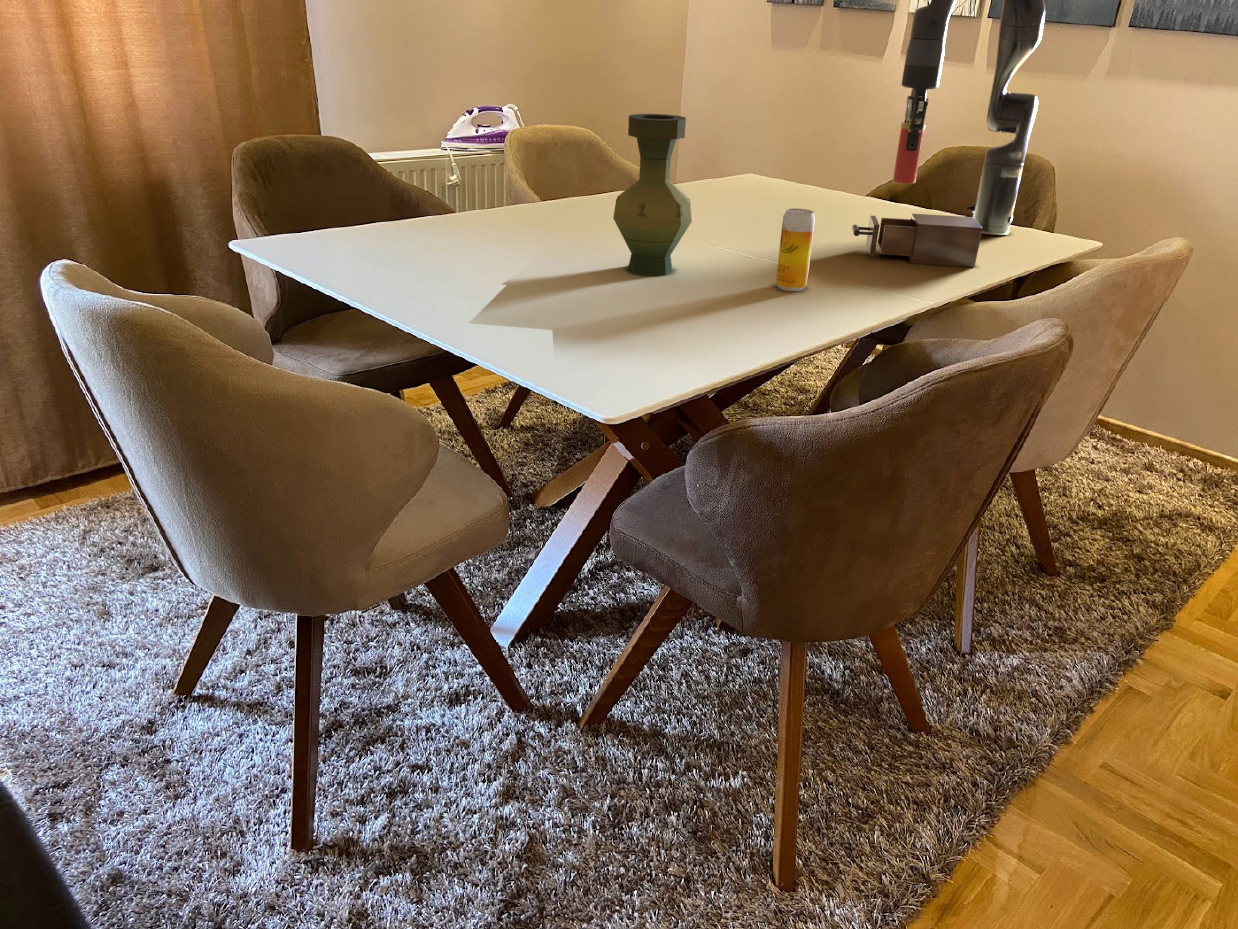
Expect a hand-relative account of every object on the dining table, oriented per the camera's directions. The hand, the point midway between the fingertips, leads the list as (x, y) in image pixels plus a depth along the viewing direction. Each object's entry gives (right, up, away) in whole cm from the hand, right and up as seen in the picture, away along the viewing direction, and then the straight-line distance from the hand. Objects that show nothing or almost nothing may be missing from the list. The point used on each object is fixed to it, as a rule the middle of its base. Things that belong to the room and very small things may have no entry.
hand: (909, 148), depth 199 cm
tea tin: (0, -6, +3) cm, 7 cm away
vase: (-56, -28, -6) cm, 63 cm away
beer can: (-29, -33, -15) cm, 46 cm away
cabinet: (+10, -21, +10) cm, 26 cm away
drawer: (-2, -19, +11) cm, 23 cm away
